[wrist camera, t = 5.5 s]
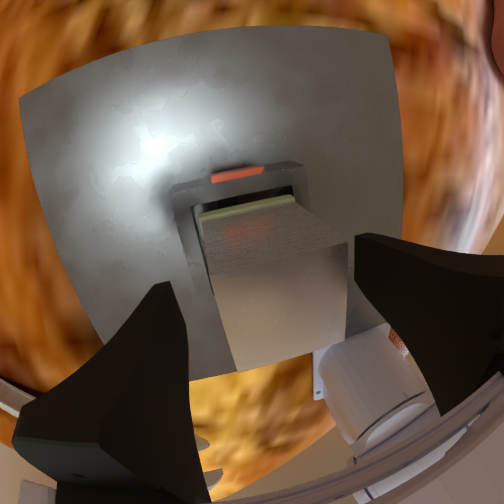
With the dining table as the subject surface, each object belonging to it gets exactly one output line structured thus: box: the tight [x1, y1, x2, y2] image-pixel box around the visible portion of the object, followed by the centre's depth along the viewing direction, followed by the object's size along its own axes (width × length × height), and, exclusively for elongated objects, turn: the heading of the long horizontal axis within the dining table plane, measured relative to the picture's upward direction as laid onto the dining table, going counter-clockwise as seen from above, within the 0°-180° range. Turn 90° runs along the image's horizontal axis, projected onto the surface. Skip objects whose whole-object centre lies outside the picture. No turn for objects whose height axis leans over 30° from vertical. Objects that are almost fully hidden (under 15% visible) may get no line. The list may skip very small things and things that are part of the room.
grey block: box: [198, 194, 348, 373], centre depth 11 cm, size 4×4×5 cm
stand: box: [19, 25, 403, 381], centre depth 15 cm, size 22×22×4 cm
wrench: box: [0, 378, 223, 490], centre depth 19 cm, size 8×2×30 cm
